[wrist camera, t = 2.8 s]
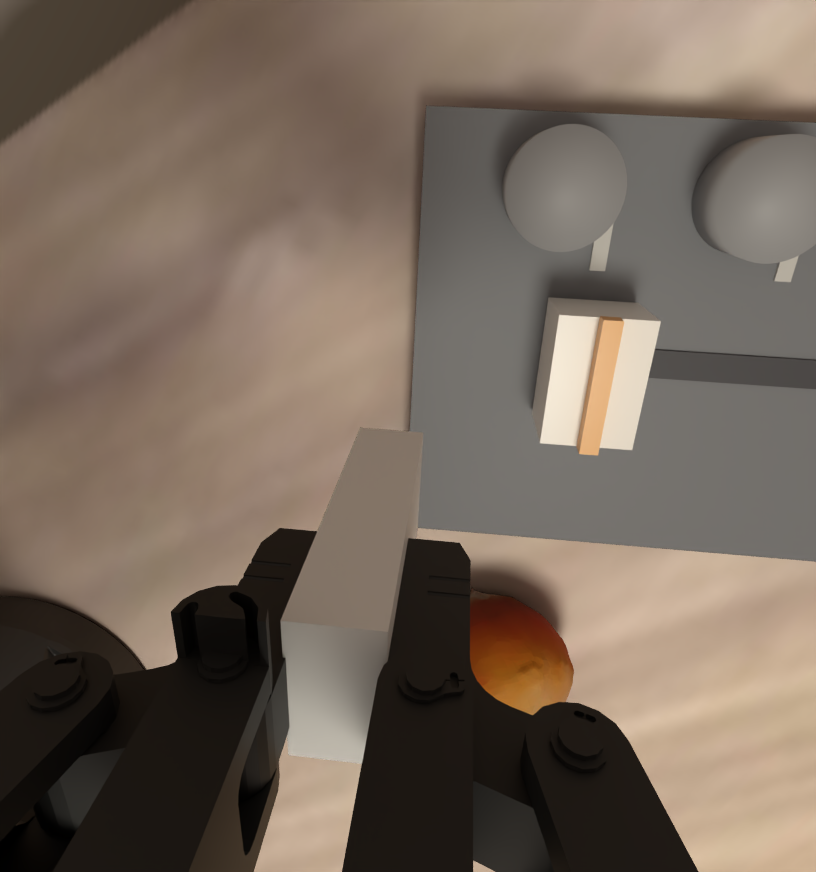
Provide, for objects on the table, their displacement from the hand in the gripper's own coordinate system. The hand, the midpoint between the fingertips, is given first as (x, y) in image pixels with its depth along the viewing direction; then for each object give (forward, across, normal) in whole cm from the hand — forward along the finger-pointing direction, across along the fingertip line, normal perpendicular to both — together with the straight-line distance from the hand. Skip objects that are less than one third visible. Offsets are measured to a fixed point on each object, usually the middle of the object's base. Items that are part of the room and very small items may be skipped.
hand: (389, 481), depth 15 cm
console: (+14, +14, 0) cm, 20 cm away
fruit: (+14, +4, -17) cm, 23 cm away
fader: (+12, +7, 0) cm, 14 cm away
